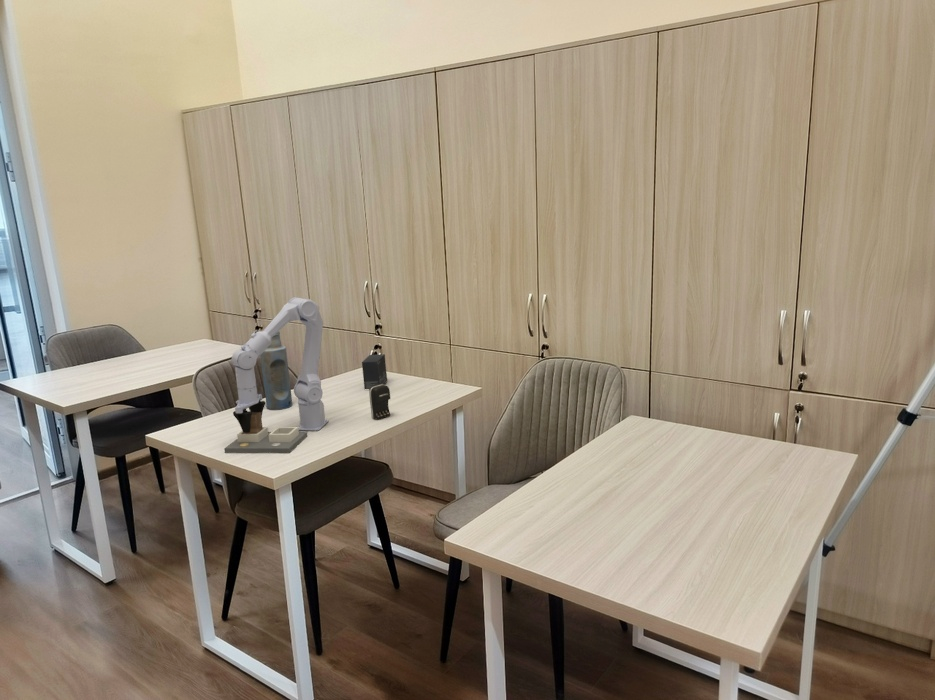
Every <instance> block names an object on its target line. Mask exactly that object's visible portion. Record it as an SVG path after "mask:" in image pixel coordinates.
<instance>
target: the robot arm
mask: <svg viewBox="0 0 935 700" xmlns="http://www.w3.org/2000/svg"><path fill="white" fill-rule="evenodd" d="M297 320H299V321H300V322H301V323H302V324H303V325H304V326H305V335H304V343H303V344H304V345H303V352H302V353H303V354H302V364H301V365H302V366H301V372H300V374H299V375H298V376H297V380H296V383H295V385H294V387H293V394H294V396H295V397H296V398H297V400H298V401H297V403H298V405H297V407H298V414H299V422H300V425H299V426H297V427H298V429H299V431H320V430H322V428H323V427H324V426H325V425H326V424H327V423H328V422H329V420H328V419H327V420H326V413H325V405H324V402H323V400H321V399H322V397H323V389H322V381H321V378H320V377H319V367H320V357H321V356H320V355H321V347H322V346H321V345H322V336H323V328H324V321H323V318H322V316H321V313H320V307H319V305H318V304H317V303H316V302H315V301H314V300H312V299H310V298H301V297H298V296H296V297H295V296H294V297H292V298H290V299H289V300H288V302H287V303H285V304H284V305H283V306H282V308H281V309H280V311H279V312H278V313H277V315H275V317H274V318H273V319H272V320H271V322H270V323H269V324H268V325H267V326H266V327H265V328H264V329H263V330H262V331H256V332H252V334H251V335H250V336H251V337H250V338H249V340H248V341H246V343H244V344H242V345H240V348H239V349H237V350H235V351H234V352H233V353H232V354H231V355H232V356H231V359H230V362H231V364H232V365H233V366H234V371H235V379H236V387H237V396H238V399H237V400H236V401H235V403H236V404H237V405H236V406H235V407H234V411H233V412H232V414H233V416H234V418H235V419H236V420H237V422H238V425H239V426H240V429H241V431H243V433H249V432H250V429H251V426H250V421H251V415H252V412H261V419H262V417H263V412H264V411H263V410H264V408H265V405H266V400H265V401H264V400H263V394H262V393H258V388H257V381H256V374H255V373H256V371H255V366H256V364H257V359H258V358H259V357H260V355H261V354H262V353H263V352H264V351H265V350H266V349H267V347H268V346H269V345H270V344H271V338H272V337H273V336H274V335H275V334H276V333H277V332H278V331H279V332H280V331H281V329H283V328H284V327H285V326H286V325H287V324H288V323H289V322H293V321H297ZM248 409H249V411H248Z"/></svg>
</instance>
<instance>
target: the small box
mask: <svg viewBox="0 0 935 700" xmlns="http://www.w3.org/2000/svg"><path fill="white" fill-rule="evenodd" d="M361 365H362V366H361V367H362V375H363V385H364V390H365V389H370V388H372V387H374V386H377V385H386V383H387V382H388V375H387V373H388V372H387V365H386V355H385V354H381V353H380V354H369V355H368V356H367V357H366V358H365V359H364V360H362V362H361ZM386 381H387V382H386ZM385 382H386V383H385Z"/></svg>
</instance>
